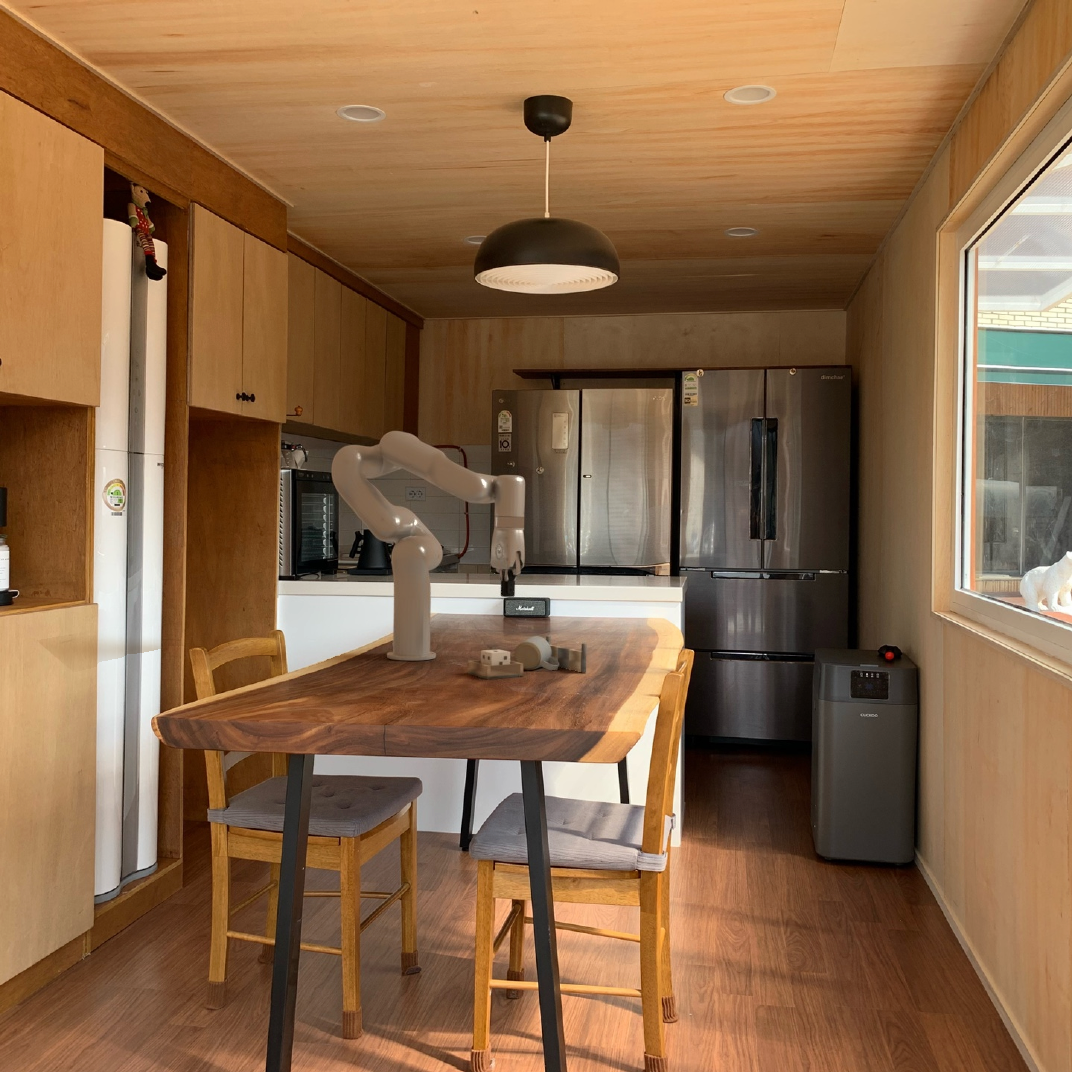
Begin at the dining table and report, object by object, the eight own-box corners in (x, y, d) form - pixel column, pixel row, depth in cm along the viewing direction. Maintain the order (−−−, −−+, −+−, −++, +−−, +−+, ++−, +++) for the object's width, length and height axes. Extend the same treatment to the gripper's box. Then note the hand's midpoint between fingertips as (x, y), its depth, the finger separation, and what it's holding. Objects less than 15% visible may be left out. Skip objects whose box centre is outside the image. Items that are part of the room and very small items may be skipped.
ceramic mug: (511, 669, 253) (512, 638, 253) (522, 665, 261) (523, 634, 261) (553, 673, 250) (554, 641, 250) (563, 668, 258) (564, 637, 258)
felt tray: (467, 673, 246) (467, 660, 246) (502, 670, 251) (502, 658, 251) (487, 679, 238) (487, 666, 238) (523, 676, 243) (523, 663, 243)
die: (480, 671, 245) (480, 650, 245) (499, 670, 248) (499, 649, 248) (491, 674, 241) (491, 652, 241) (510, 673, 244) (510, 651, 244)
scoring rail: (544, 664, 264) (545, 636, 264) (548, 663, 264) (549, 636, 264) (582, 673, 249) (583, 644, 249) (587, 673, 250) (587, 643, 250)
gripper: (482, 523, 268) (480, 594, 268) (510, 524, 255) (509, 599, 255) (507, 523, 272) (506, 594, 272) (537, 524, 259) (535, 598, 259)
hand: (507, 596), depth 264 cm, fingers closed
